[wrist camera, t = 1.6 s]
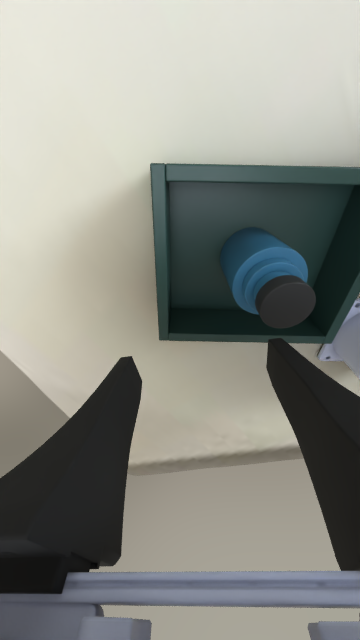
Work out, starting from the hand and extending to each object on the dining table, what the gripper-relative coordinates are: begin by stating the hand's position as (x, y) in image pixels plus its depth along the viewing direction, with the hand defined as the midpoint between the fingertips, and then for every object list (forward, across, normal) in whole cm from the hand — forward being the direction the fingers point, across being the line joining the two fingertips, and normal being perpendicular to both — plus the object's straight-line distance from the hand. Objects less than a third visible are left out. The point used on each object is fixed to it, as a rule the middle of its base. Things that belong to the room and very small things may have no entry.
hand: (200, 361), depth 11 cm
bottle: (+10, -5, -2) cm, 11 cm away
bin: (+10, -5, -2) cm, 12 cm away
